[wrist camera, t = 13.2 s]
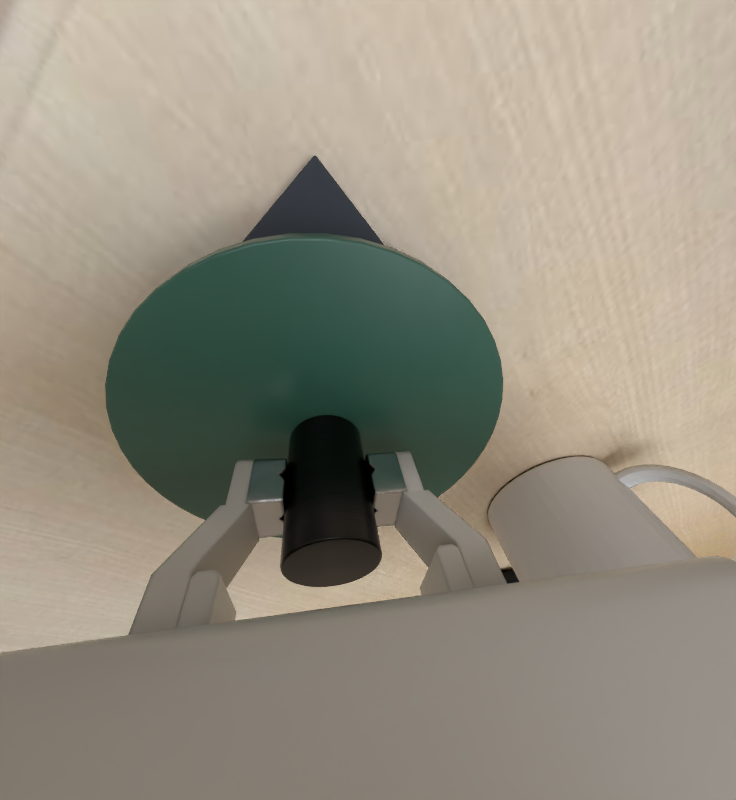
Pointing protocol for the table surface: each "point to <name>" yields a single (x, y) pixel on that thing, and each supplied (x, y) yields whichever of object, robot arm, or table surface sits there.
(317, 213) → the mat
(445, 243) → the table surface
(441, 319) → the tin lid
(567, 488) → the mug
